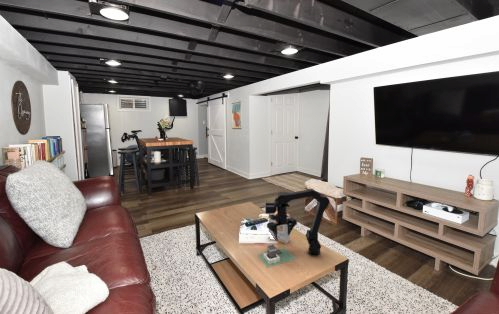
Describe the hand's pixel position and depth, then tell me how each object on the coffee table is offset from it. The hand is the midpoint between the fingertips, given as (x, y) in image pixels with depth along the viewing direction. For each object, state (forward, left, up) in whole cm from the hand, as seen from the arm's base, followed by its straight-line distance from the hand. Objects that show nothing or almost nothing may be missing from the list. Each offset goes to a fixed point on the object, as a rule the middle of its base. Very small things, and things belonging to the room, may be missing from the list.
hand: (282, 236), depth 149 cm
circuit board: (+6, +3, -12) cm, 14 cm away
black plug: (+10, +4, -11) cm, 15 cm away
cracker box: (-6, -15, -13) cm, 21 cm away
